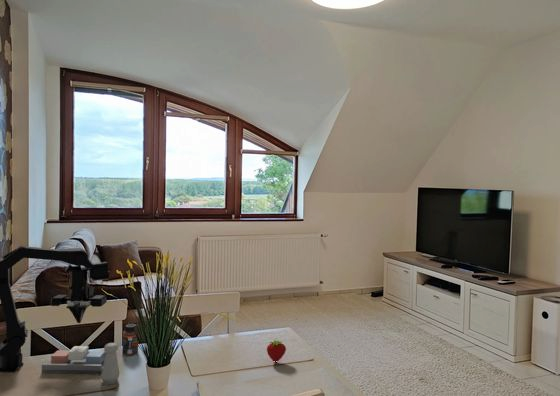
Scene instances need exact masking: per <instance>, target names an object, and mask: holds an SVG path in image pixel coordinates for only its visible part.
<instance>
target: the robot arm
mask: <svg viewBox="0 0 560 396" xmlns="http://www.w3.org/2000/svg"><path fill="white" fill-rule="evenodd" d="M24 259H31V260H32V259H34V260H43V261H44V260H46V261H56V262H57V261H58V262H63V263H65V264H67V265H68V264H69V265H68V266H67V267H66V268H64V272H65V273H70V286H69V287H68V290H70V297H69V295H68V294H58V295H55V296H53V297H52V298H51V300H50V306H51V307H59V306H60V305H61V304H63V303H64V304H67V306H66V309H68V310H69V311H70V313H71V314H72V315H73V318H74V319H75V321H76V323H77V324H81V323H82V320H83V317H84V315H85V312H86V310H87V308H88V307H90V306H91V307H94V308H95V307H97V308H99V307H103V306H104V305H105V304H107V302H108V301H107V299H108V298H107V296H106V295H105V294H104V295H103V294H101V295H100V294H97V295H94V291H95V287H92V286H90V283H89V282H88V279H91V280H92V281H93V282H97V281H106V280H109V278H110V271H109V266H108V265H109V263H108V262H107V261H103V262H95V263H93V262H92V260H90V259H89V255H88V252H87V251H86V250H85V249H83V248H82V247H75V248H74V247H71V248H64V249H59V248H46V247H38V246H37V247H35V246H27V245H19V246H17V248H15V249H13V250H12V251H10V252H8V253H6V254H5V255H3V256H2V257H0V305H1V309H2V313H3V316H4V321H5V324H6V325H5V327H6V328H5V338H4V339H3V340H2V341H0V373H4V372H5V373H12V372H13V373H14V372H16V370H18V369H19V368H20V367H21V366H23V365H24V362H23V353H22V349H21V348H22V347H23V346H24V345H25V343H26V340H27V339H26V338H28V329H27V327H26V326H27V325H26V320H25V321H22V322H21V320H20V318H19V315H18V312H17V308H16V304H15V303H16V302H15V299H14V295H13V292H12V287H11V283H10V269H11V268H12V267H13V266H15V265H16V264H18V263H19V262H21V260H24Z"/></svg>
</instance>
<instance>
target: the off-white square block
mask: <svg viewBox="0 0 560 396" xmlns="http://www.w3.org/2000/svg"><path fill="white" fill-rule="evenodd" d="M88 351H89V345H88V346H86V345H85V346H84V345H79V346H78V345H74V346H73V347H72V348H71V349H70V351H69V355H68V360H84V358H85V357H86V356H87V355H88Z"/></svg>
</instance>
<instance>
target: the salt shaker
mask: <svg viewBox="0 0 560 396" xmlns="http://www.w3.org/2000/svg"><path fill="white" fill-rule="evenodd" d="M118 349H119V345H118V344H117V343H116V342H108V343H106V344H105V345H104V348H103V351H105V352H106V356H105V361H104V365H103V370H102V373H101V375H100V378H101V380H102V382H103V383H104V385H108V386H110V385H115V384H116V382H117V381H118V379H119V377H120V374H121V373H120V367H119V362H118V355H117V352H118Z"/></svg>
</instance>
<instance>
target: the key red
mask: <svg viewBox="0 0 560 396" xmlns="http://www.w3.org/2000/svg"><path fill="white" fill-rule="evenodd" d="M70 350H71V349H70ZM70 350H68V349H67V350H64V349H62V350H61V349H59V350H56V351H55V352H54V353H53V354H51V355H50V362H51V364H66V363H67V362H68V361H69V360H68V355H69V351H70Z"/></svg>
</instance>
